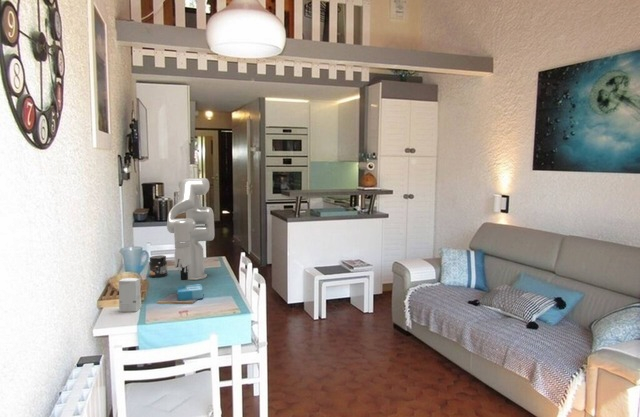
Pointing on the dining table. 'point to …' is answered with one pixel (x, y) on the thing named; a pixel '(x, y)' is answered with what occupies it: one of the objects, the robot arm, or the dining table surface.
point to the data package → (190, 292)
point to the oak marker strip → (174, 302)
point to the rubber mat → (176, 298)
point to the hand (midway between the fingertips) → (184, 279)
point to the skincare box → (129, 295)
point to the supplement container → (158, 266)
